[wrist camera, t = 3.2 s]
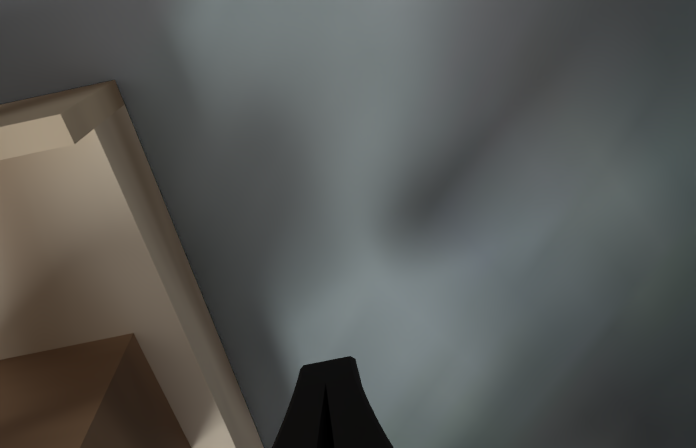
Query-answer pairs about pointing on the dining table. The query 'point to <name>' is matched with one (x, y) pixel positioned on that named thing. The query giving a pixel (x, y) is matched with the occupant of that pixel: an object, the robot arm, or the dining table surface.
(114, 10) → the dining table surface
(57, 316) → the divided beige tray
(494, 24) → the dining table surface
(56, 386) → the walnut block
